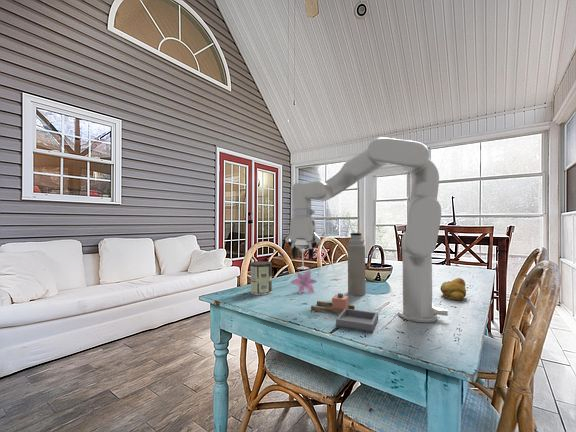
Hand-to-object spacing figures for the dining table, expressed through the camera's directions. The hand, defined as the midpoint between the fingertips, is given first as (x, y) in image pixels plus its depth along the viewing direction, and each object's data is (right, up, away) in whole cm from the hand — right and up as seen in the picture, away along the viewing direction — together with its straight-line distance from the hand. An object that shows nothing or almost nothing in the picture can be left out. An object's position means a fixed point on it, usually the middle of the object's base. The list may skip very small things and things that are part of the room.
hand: (302, 257), depth 114 cm
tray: (+17, -19, -19) cm, 32 cm away
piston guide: (+11, -19, -6) cm, 23 cm away
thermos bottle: (+26, -19, +18) cm, 37 cm away
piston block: (+14, -19, -6) cm, 25 cm away
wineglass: (0, -4, 0) cm, 4 cm away
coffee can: (-19, -20, +21) cm, 35 cm away
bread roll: (+66, -19, +9) cm, 69 cm away
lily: (+2, -20, +21) cm, 29 cm away
